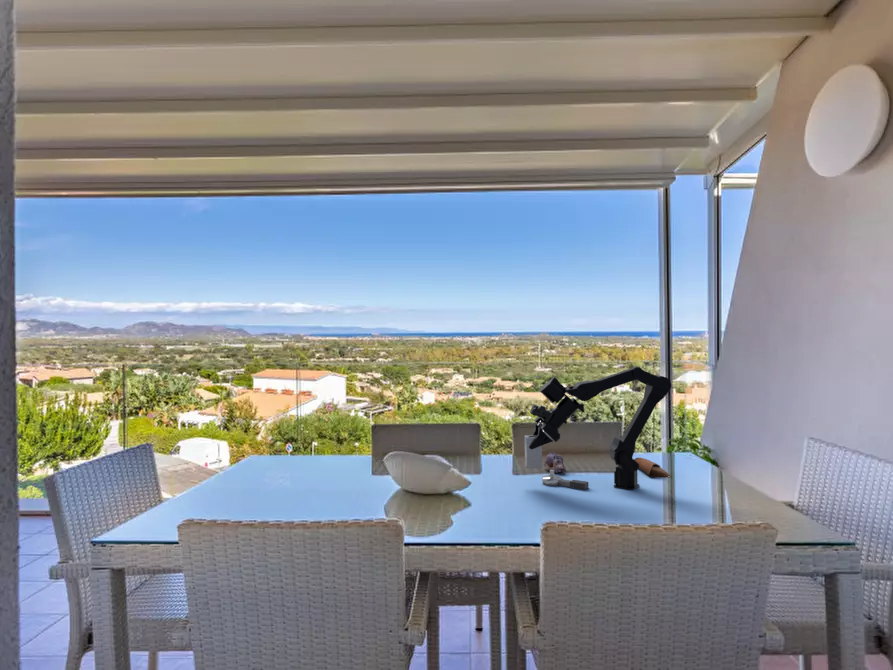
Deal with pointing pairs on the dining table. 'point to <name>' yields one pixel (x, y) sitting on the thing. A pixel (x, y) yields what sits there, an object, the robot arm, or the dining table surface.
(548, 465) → the skull
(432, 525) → the dining table surface
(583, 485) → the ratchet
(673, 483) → the dining table surface
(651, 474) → the sunglasses case
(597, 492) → the dining table surface
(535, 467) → the socket
